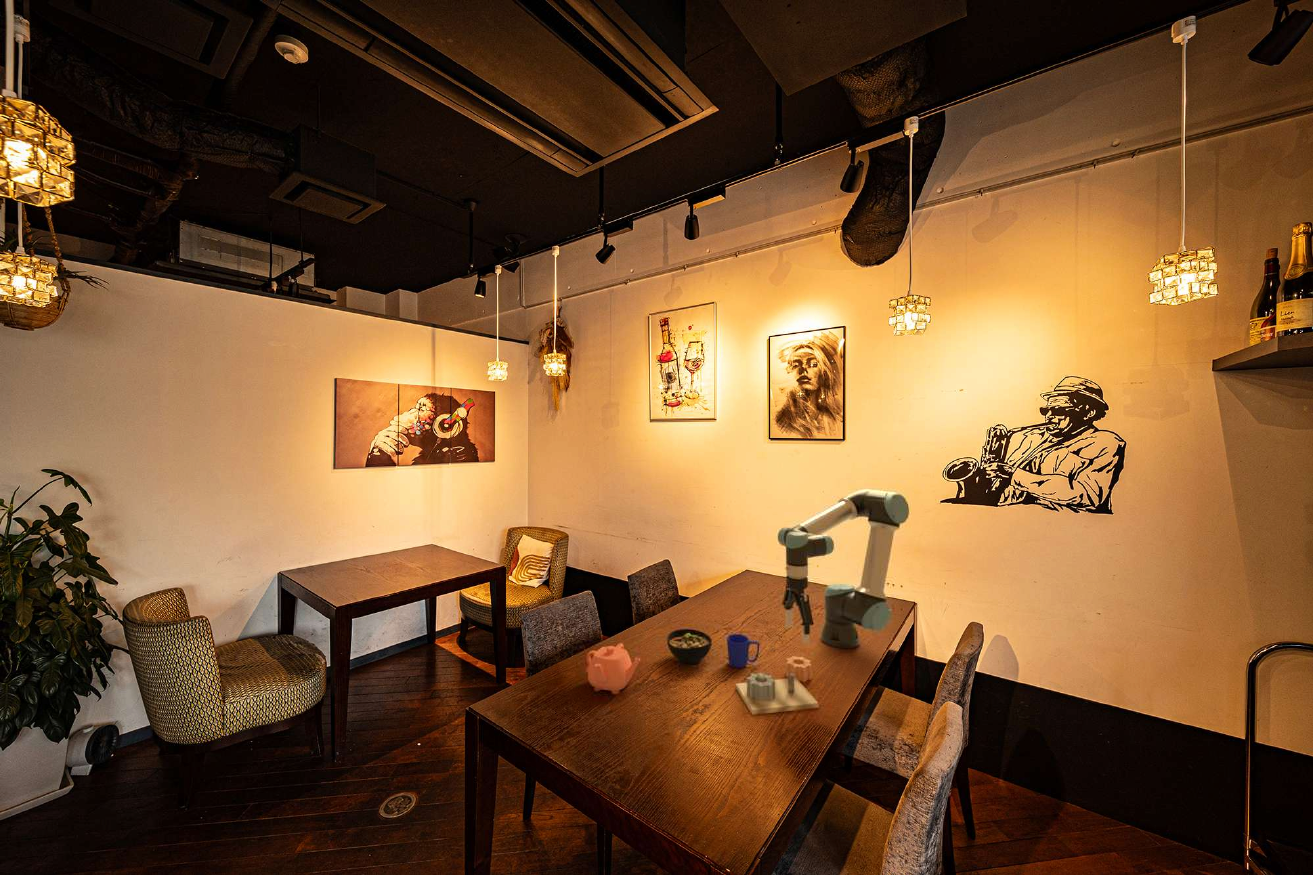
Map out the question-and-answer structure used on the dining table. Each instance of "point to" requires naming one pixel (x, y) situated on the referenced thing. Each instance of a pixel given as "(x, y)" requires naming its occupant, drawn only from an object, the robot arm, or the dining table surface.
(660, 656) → the dining table surface
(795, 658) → the gear
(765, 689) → the gear
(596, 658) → the teapot
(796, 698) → the board
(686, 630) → the bowl
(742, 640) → the mug
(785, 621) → the robot arm
